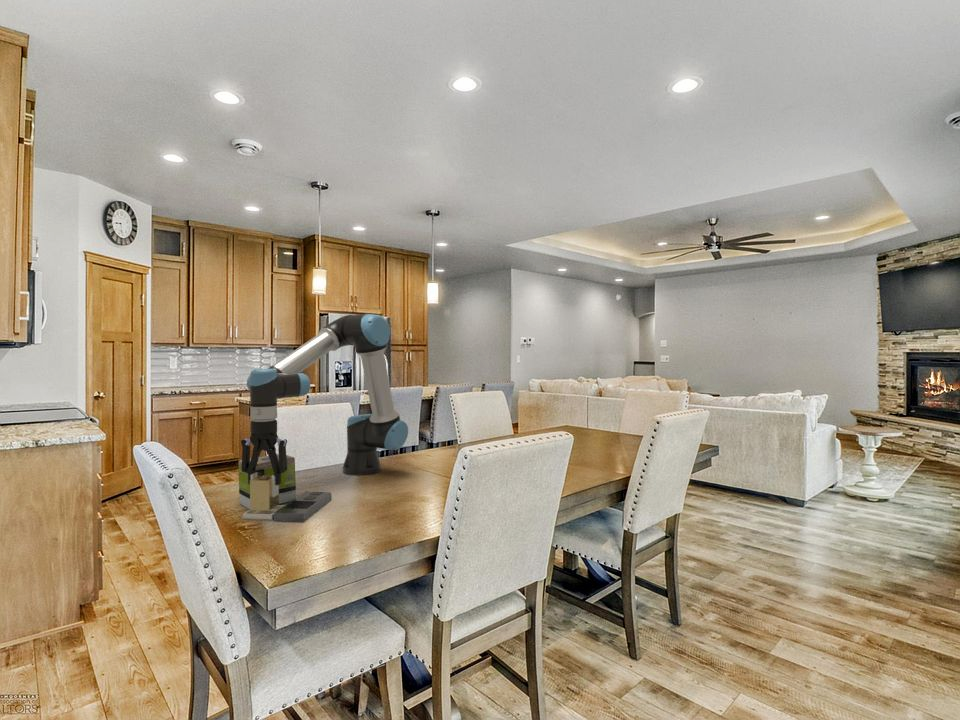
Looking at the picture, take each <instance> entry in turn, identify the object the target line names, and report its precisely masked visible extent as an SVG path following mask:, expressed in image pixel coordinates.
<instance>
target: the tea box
mask: <svg viewBox="0 0 960 720" xmlns="http://www.w3.org/2000/svg"><path fill="white" fill-rule="evenodd" d="M276 454H277V457H278V461H279V453H276ZM286 457H287V471H285V472H284V473H281V484H280V485H279V505H280V504H284V503H289V502H291V501H292V500H294V499H295V498H297V490H296V489H297V485H296V481H297V480H296V479H297V478H296V460H295V459H296V458H295V457H294V456H291V455H287V454H286ZM250 461H251V458H250ZM241 468H242V459H241V460H238V494H239V495H238V496H239V504H240V505H241V506H243V507H244V508H246V509H247V510H250V484H248V474H247V473H246V472H242V471H241ZM254 473H257V474H258V476H260V475H271V476H272V475H273V474H274V471H273V468H272V465H271V462H270V458H269V455H264V456H259V459H258V462H257V466H256V469H255V472H254Z"/></svg>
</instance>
